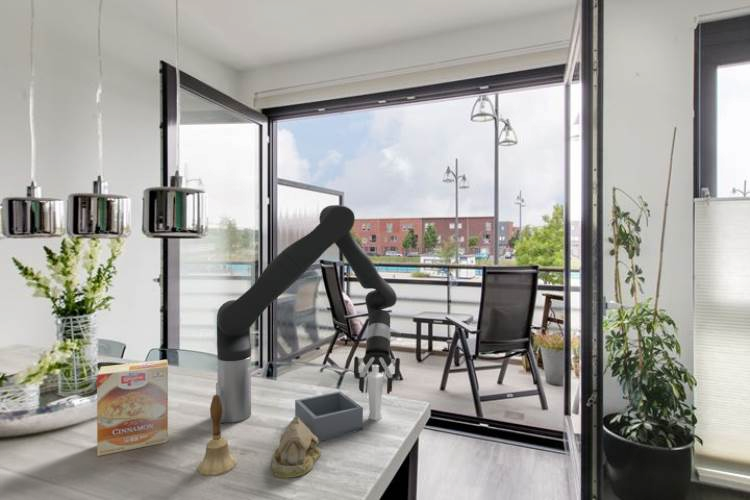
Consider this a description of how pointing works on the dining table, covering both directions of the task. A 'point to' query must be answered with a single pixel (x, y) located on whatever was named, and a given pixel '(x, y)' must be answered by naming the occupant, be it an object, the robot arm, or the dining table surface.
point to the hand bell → (216, 446)
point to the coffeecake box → (132, 406)
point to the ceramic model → (295, 451)
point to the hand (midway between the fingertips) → (375, 392)
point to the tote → (330, 415)
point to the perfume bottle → (375, 392)
